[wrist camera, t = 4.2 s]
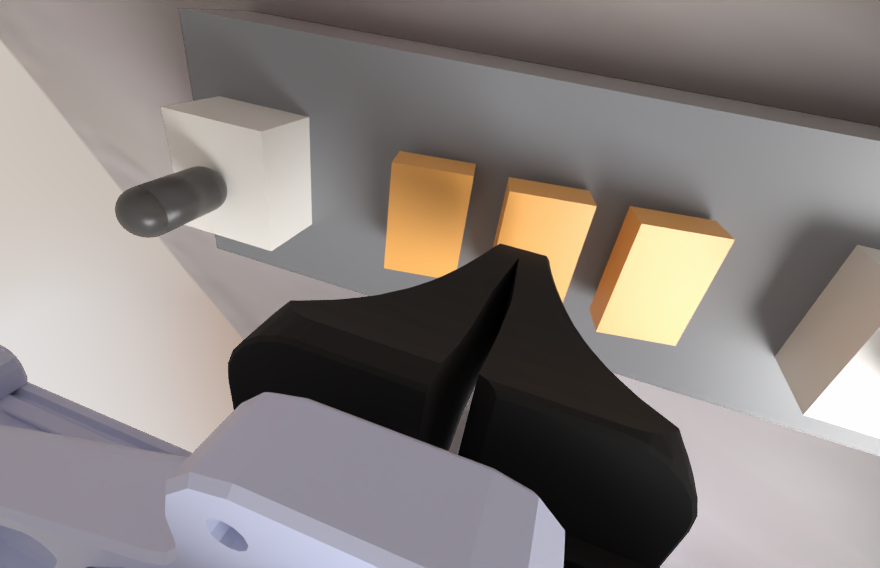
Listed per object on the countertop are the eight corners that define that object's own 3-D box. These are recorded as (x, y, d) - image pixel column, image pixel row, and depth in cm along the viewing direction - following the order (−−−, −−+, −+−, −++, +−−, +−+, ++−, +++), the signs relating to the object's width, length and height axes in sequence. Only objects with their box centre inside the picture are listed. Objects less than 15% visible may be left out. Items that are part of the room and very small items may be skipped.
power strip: (847, 387, 17) (895, 461, 14) (267, 219, 22) (217, 248, 19) (1054, 158, 12) (1190, 200, 9) (250, 10, 17) (178, 8, 14)
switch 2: (662, 321, 14) (675, 346, 13) (589, 308, 14) (596, 331, 13) (715, 220, 12) (735, 239, 11) (630, 205, 12) (641, 223, 11)
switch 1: (457, 263, 16) (454, 280, 15) (391, 251, 16) (383, 268, 15) (475, 163, 14) (474, 176, 13) (399, 151, 14) (391, 162, 13)
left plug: (312, 224, 17) (194, 303, 12) (233, 201, 18) (92, 267, 13) (309, 116, 15) (164, 161, 10) (219, 96, 16) (44, 128, 11)
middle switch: (555, 291, 15) (559, 311, 14) (485, 279, 15) (484, 298, 14) (589, 190, 13) (596, 205, 12) (508, 177, 13) (509, 191, 12)
